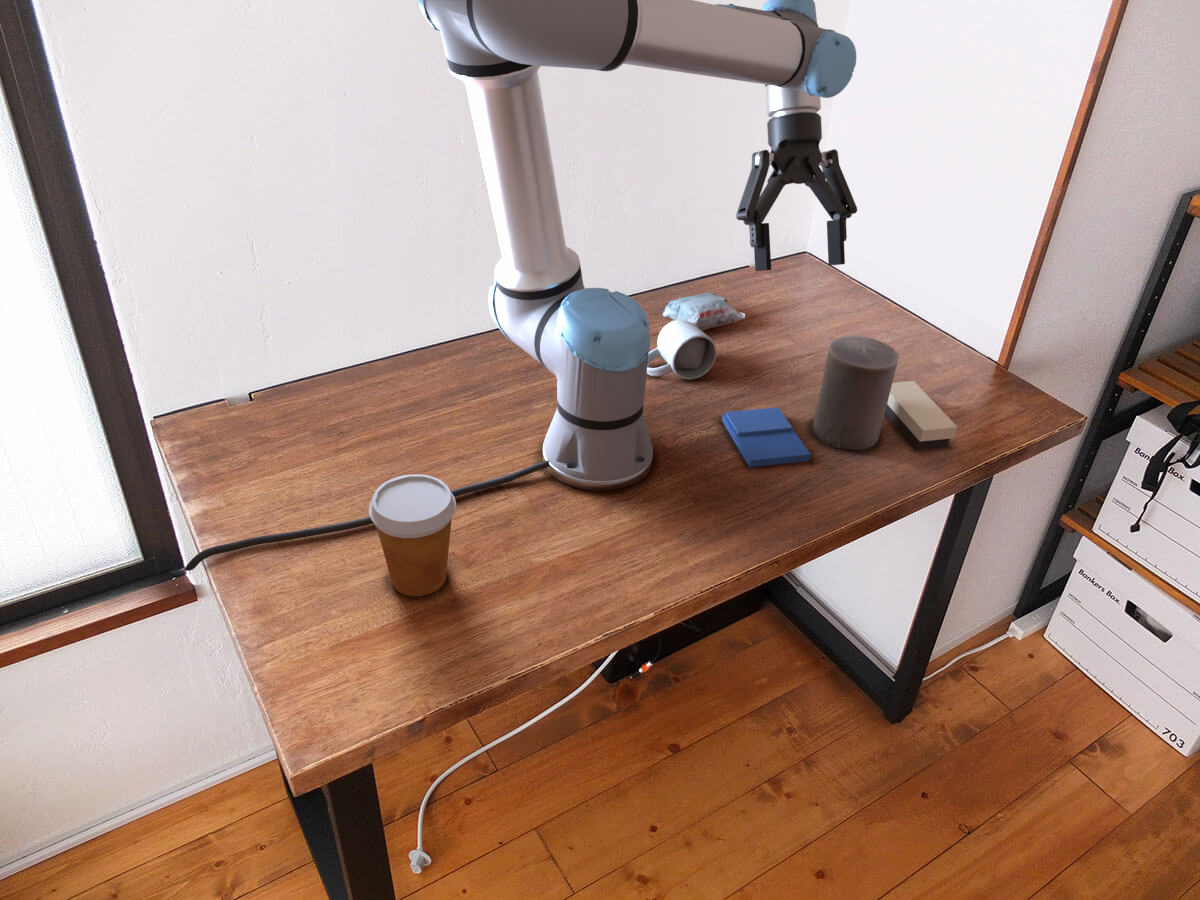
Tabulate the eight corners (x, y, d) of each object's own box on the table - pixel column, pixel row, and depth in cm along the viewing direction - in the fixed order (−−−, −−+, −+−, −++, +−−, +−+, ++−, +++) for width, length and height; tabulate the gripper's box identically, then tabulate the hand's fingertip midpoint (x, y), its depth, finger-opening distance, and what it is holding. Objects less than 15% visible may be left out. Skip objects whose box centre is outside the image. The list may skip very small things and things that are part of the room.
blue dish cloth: (749, 467, 133) (751, 457, 132) (721, 420, 142) (723, 410, 141) (809, 461, 135) (811, 451, 134) (778, 415, 144) (779, 405, 143)
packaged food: (743, 329, 167) (746, 303, 164) (686, 342, 162) (688, 316, 159) (714, 309, 173) (717, 284, 170) (659, 321, 168) (661, 296, 165)
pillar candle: (818, 449, 137) (837, 358, 129) (807, 412, 145) (825, 324, 137) (885, 452, 137) (909, 362, 129) (871, 415, 145) (893, 328, 137)
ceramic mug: (692, 352, 159) (696, 310, 155) (715, 375, 153) (719, 333, 148) (634, 362, 156) (636, 320, 151) (654, 387, 150) (657, 344, 145)
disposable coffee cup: (463, 551, 116) (459, 472, 109) (456, 607, 108) (451, 525, 101) (384, 550, 115) (375, 470, 109) (371, 606, 108) (360, 524, 101)
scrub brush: (916, 452, 138) (923, 430, 136) (876, 404, 148) (881, 383, 146) (951, 448, 139) (957, 426, 137) (908, 401, 149) (914, 380, 147)
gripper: (842, 121, 144) (848, 264, 148) (705, 120, 133) (715, 274, 136) (878, 111, 137) (883, 260, 141) (737, 109, 126) (746, 271, 130)
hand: (800, 268), depth 139 cm, fingers open, 13 cm apart
